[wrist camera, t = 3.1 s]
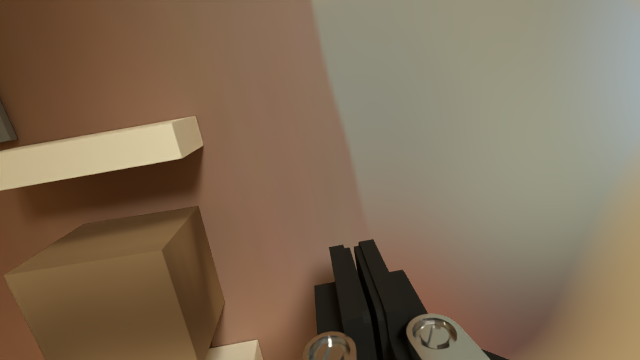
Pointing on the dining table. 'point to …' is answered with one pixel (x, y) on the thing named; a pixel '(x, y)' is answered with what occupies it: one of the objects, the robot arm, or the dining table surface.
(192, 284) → the walnut block
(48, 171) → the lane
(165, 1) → the dining table surface
